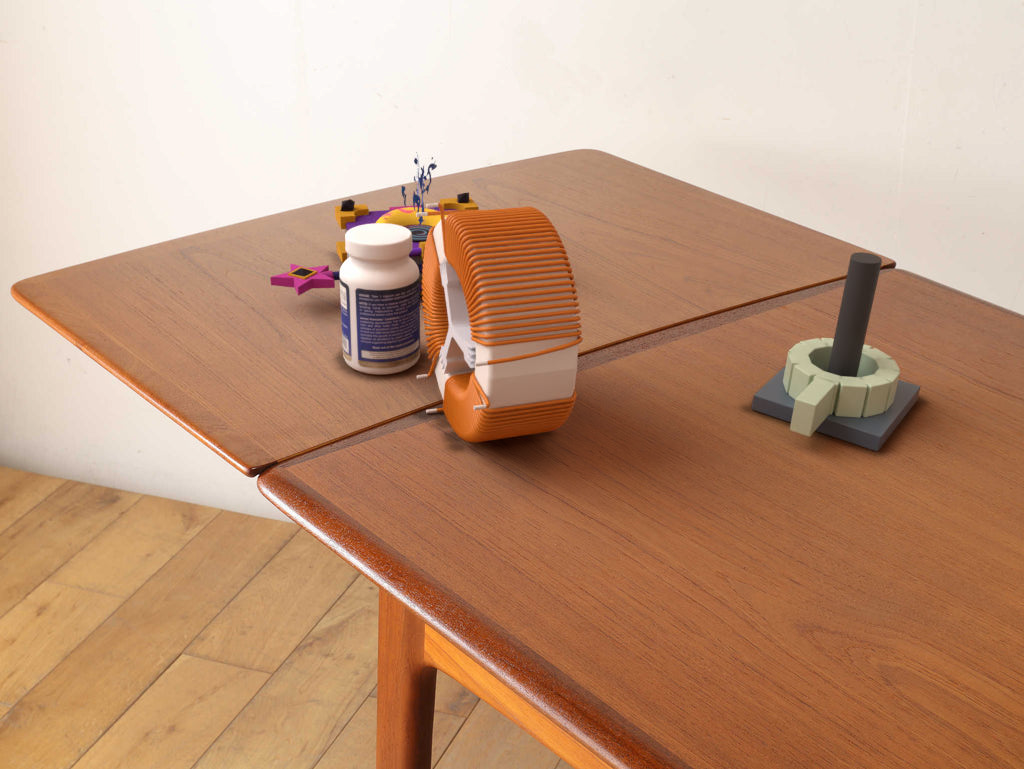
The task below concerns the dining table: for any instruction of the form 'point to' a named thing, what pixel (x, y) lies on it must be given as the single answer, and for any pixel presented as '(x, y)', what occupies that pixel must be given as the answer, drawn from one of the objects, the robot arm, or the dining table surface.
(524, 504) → the dining table surface
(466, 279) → the coil
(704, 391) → the dining table surface
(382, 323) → the pill bottle
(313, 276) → the purple yellow toy
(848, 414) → the tabbed ring on plate
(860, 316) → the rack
